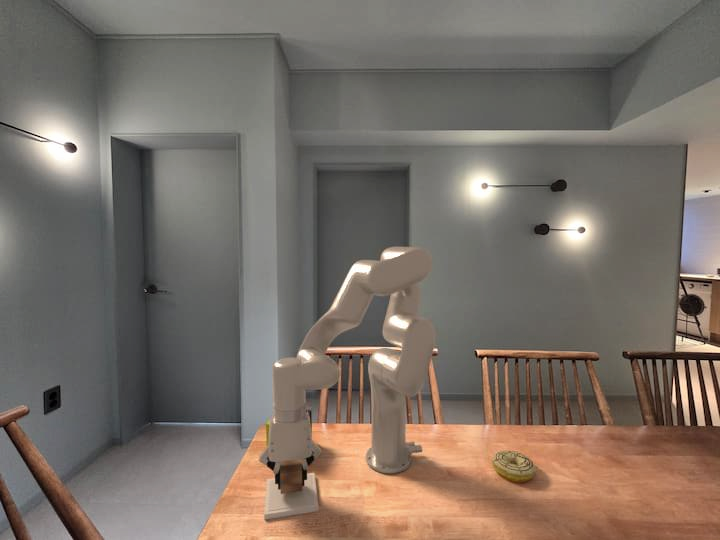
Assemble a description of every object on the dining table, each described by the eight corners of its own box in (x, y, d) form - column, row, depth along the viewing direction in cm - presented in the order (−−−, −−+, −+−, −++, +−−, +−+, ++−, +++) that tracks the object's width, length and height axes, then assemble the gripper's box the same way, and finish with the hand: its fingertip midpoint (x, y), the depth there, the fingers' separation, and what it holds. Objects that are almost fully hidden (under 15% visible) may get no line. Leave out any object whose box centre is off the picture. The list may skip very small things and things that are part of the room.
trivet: (314, 477, 93) (314, 472, 93) (318, 511, 81) (318, 505, 81) (267, 483, 91) (266, 478, 91) (264, 519, 79) (264, 514, 79)
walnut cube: (301, 477, 89) (301, 457, 88) (302, 490, 84) (301, 470, 83) (280, 479, 88) (280, 460, 87) (280, 494, 83) (280, 473, 82)
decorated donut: (542, 473, 95) (543, 459, 94) (524, 492, 88) (525, 477, 87) (504, 455, 102) (505, 443, 102) (485, 471, 95) (485, 458, 95)
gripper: (323, 400, 90) (324, 469, 91) (253, 407, 86) (256, 478, 88) (327, 415, 82) (328, 489, 84) (250, 423, 79) (253, 500, 80)
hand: (291, 483), depth 86 cm, fingers closed on walnut cube, 4 cm apart
